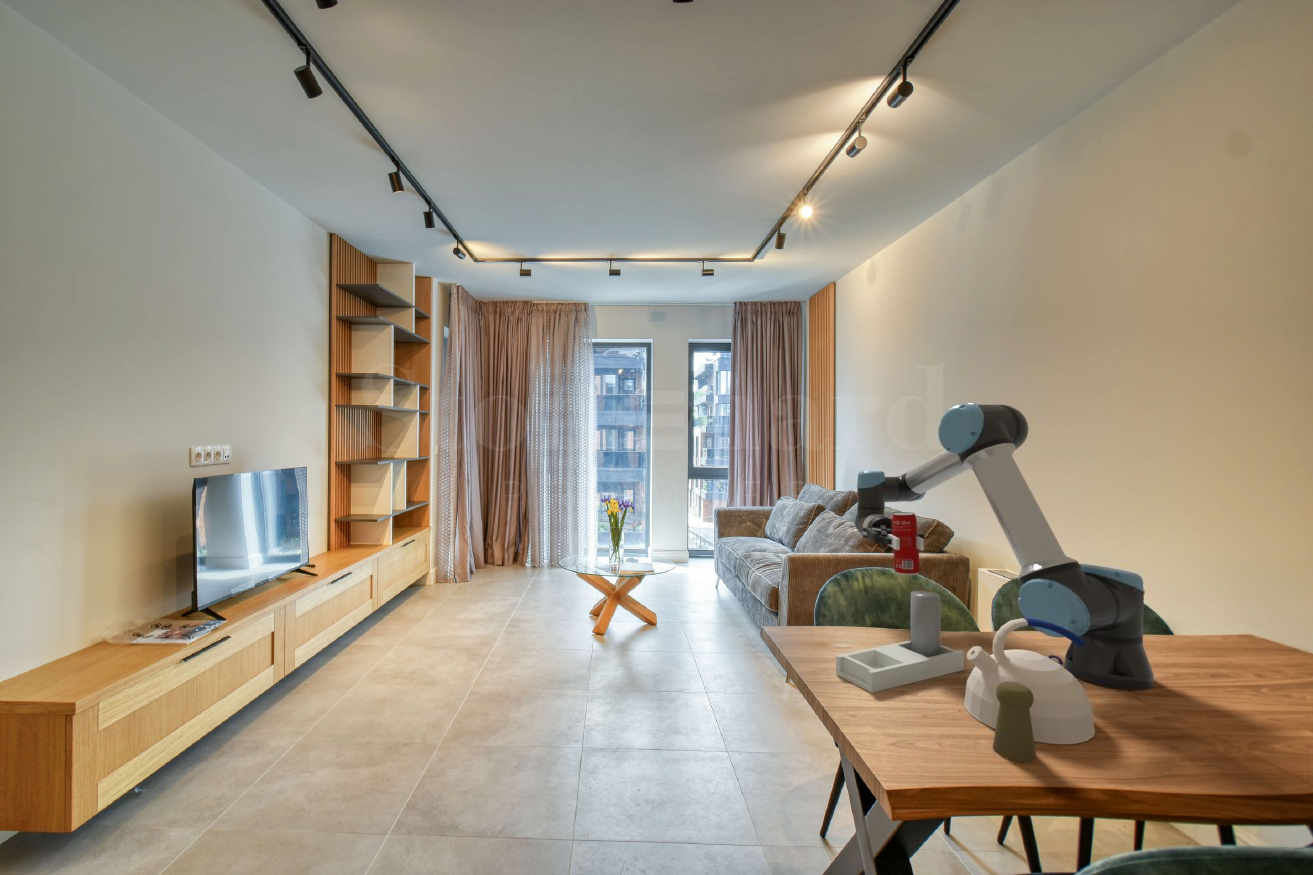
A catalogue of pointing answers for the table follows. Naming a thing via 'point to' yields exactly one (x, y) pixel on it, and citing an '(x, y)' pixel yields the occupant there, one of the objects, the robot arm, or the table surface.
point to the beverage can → (906, 543)
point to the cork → (1014, 723)
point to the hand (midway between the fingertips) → (909, 544)
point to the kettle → (1031, 687)
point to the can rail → (904, 652)
